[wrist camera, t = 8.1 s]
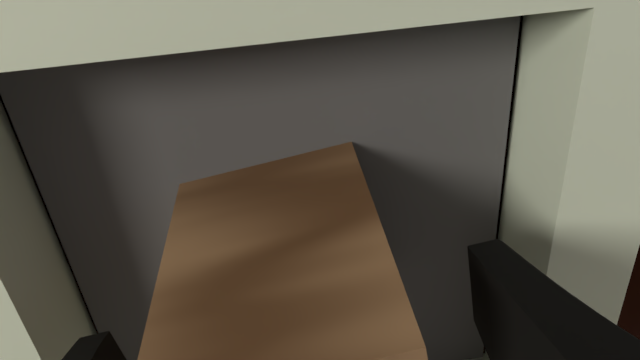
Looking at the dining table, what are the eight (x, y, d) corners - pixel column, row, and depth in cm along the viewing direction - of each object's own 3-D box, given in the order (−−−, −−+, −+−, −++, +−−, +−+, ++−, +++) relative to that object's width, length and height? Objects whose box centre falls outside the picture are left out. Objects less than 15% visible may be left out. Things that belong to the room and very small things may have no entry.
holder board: (643, -143, 10) (750, -147, 8) (538, 386, 18) (579, 458, 15) (-191, -64, 9) (-328, -44, 7) (78, 454, 17) (53, 539, 15)
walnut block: (351, 141, 12) (425, 347, 7) (379, 273, 14) (452, 509, 9) (179, 183, 12) (122, 420, 7) (232, 309, 14) (219, 563, 9)
